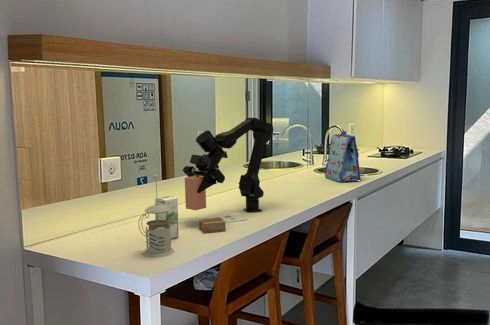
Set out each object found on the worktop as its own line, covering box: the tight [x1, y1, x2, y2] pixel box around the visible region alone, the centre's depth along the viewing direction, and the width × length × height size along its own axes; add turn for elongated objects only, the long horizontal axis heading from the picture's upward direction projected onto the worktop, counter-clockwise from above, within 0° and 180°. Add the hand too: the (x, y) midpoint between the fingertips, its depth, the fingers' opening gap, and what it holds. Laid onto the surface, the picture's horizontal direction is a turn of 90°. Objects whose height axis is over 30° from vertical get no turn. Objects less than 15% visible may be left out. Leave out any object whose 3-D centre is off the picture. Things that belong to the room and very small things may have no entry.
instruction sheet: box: [213, 213, 248, 224], centre depth 204 cm, size 12×9×1 cm
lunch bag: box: [324, 130, 362, 183], centre depth 294 cm, size 22×14×29 cm, turn 15°
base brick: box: [198, 217, 227, 234], centre depth 186 cm, size 8×8×4 cm
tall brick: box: [184, 176, 207, 211], centre depth 192 cm, size 6×6×12 cm
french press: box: [138, 174, 176, 258], centre depth 159 cm, size 10×12×25 cm
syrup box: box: [154, 195, 179, 240], centre depth 176 cm, size 6×6×14 cm
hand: (192, 191), depth 191 cm, fingers closed on tall brick, 5 cm apart
